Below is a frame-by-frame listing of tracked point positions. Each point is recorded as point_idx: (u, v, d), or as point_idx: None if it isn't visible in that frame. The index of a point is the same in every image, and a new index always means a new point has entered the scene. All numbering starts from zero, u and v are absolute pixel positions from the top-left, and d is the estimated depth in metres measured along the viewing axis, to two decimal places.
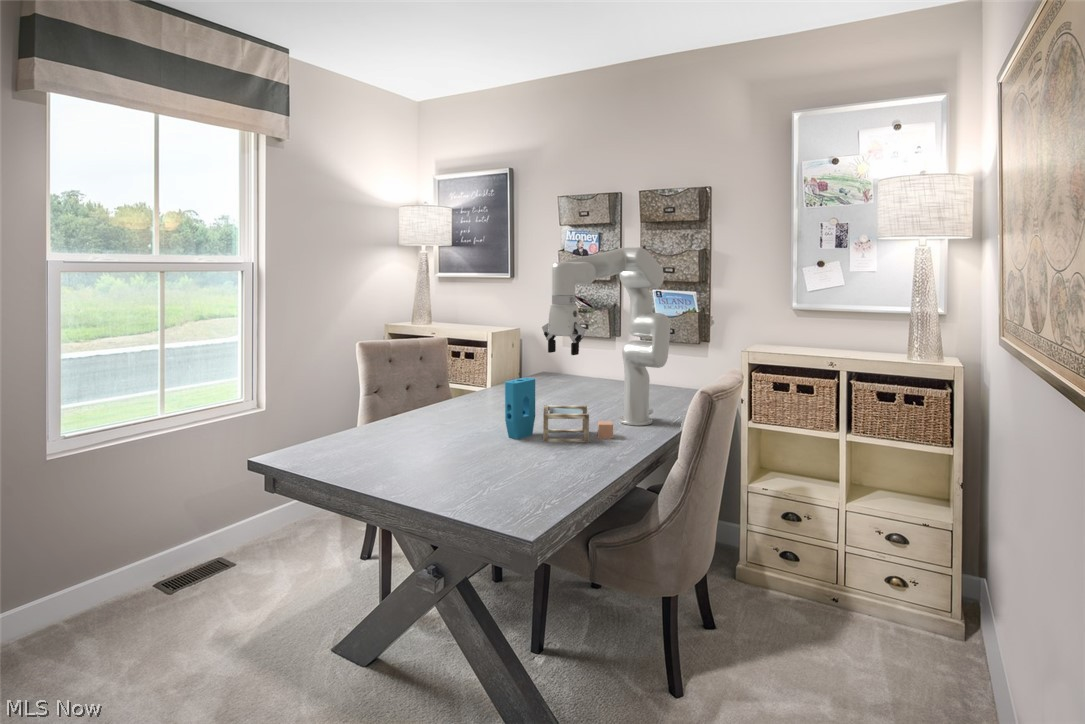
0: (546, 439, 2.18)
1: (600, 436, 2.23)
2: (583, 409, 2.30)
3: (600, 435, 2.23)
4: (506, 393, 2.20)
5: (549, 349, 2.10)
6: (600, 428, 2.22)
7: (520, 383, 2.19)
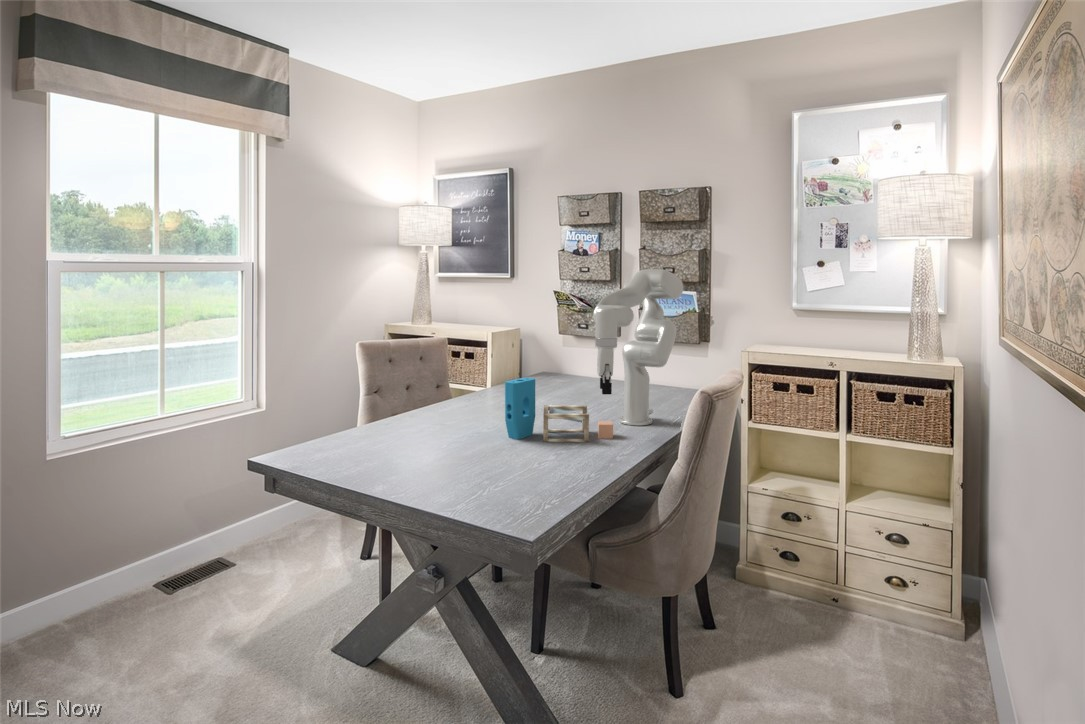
0: (546, 439, 2.18)
1: (600, 436, 2.23)
2: (583, 409, 2.30)
3: (600, 435, 2.23)
4: (506, 393, 2.20)
5: None
6: (600, 428, 2.22)
7: (520, 383, 2.19)
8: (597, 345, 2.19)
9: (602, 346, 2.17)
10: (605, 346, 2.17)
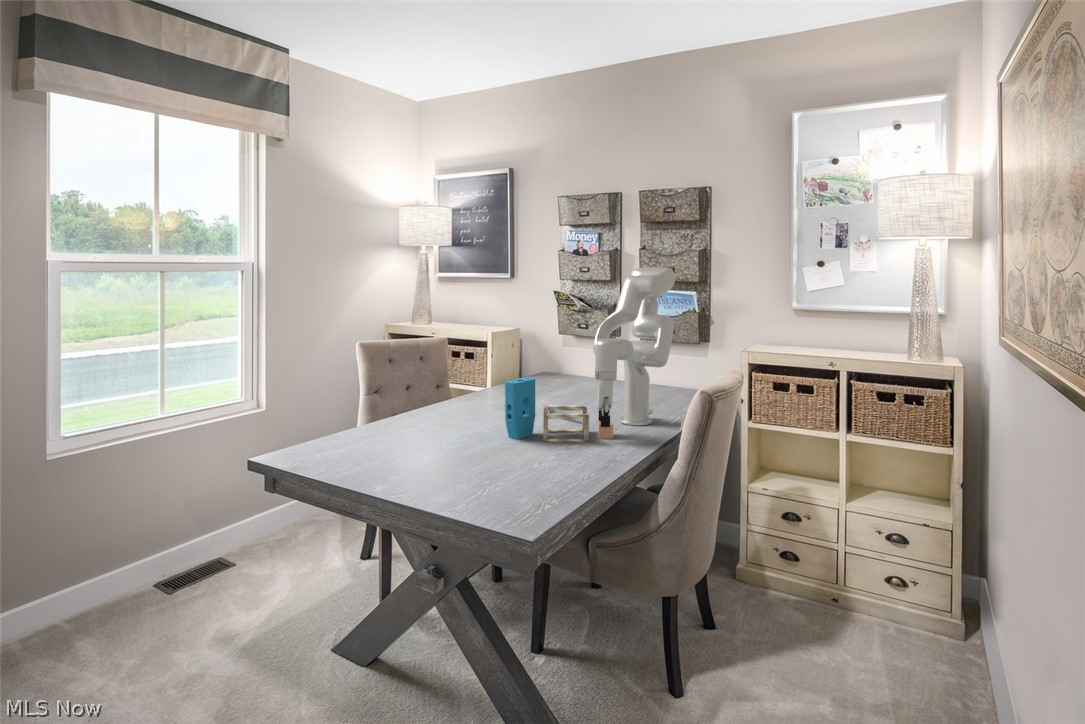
0: (546, 439, 2.18)
1: (600, 436, 2.23)
2: (583, 409, 2.30)
3: (600, 435, 2.23)
4: (506, 393, 2.20)
5: None
6: (600, 428, 2.22)
7: (520, 383, 2.19)
8: (597, 378, 2.20)
9: (602, 379, 2.19)
10: (605, 379, 2.18)
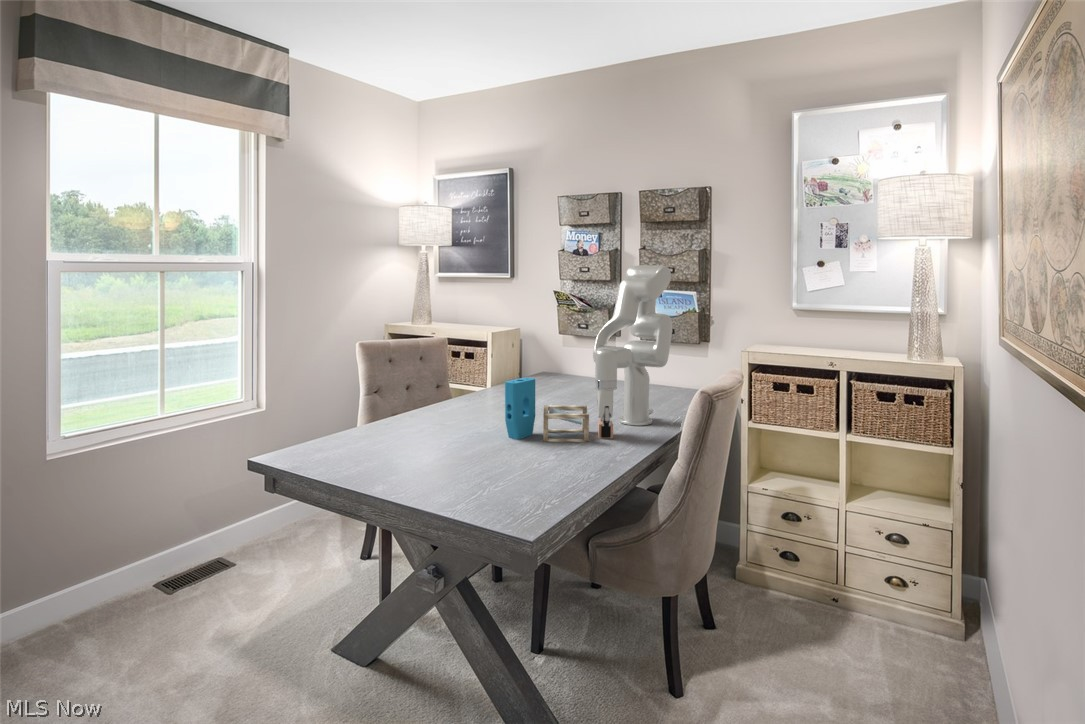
0: (546, 439, 2.18)
1: (600, 436, 2.23)
2: (583, 409, 2.30)
3: (600, 435, 2.23)
4: (506, 393, 2.20)
5: None
6: (600, 428, 2.22)
7: (520, 383, 2.19)
8: (597, 387, 2.21)
9: (602, 388, 2.19)
10: (605, 388, 2.19)
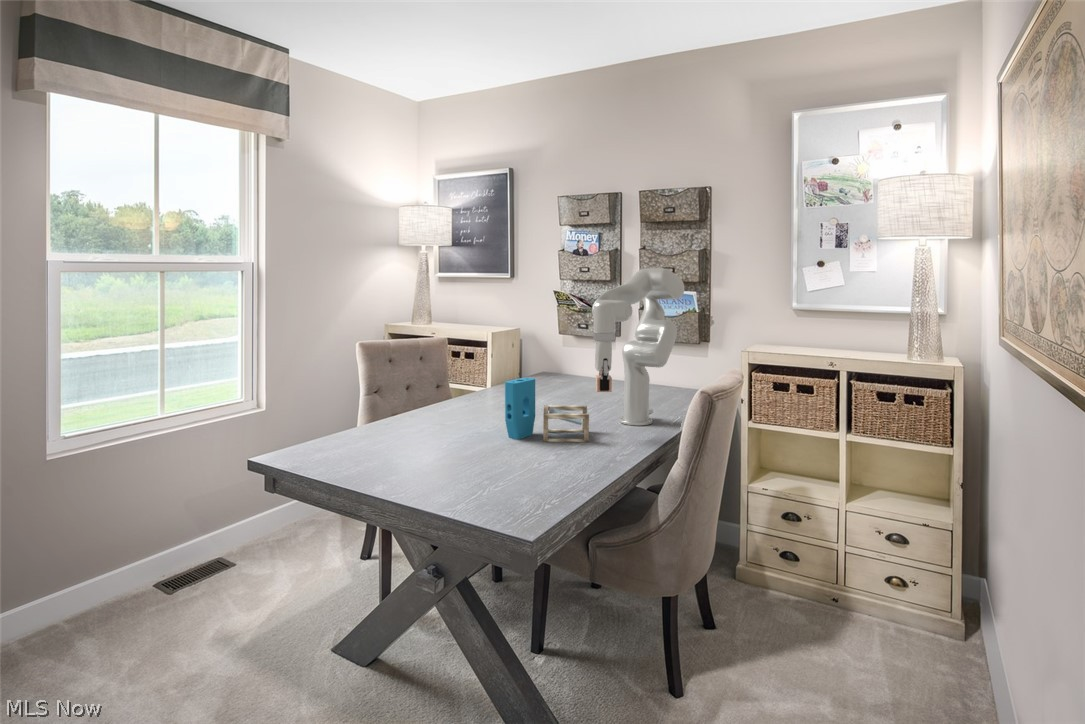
0: (546, 439, 2.18)
1: (598, 389, 2.20)
2: (583, 409, 2.30)
3: (598, 388, 2.20)
4: (506, 393, 2.20)
5: None
6: (598, 381, 2.20)
7: (520, 383, 2.19)
8: (595, 339, 2.18)
9: (600, 340, 2.17)
10: (603, 340, 2.17)
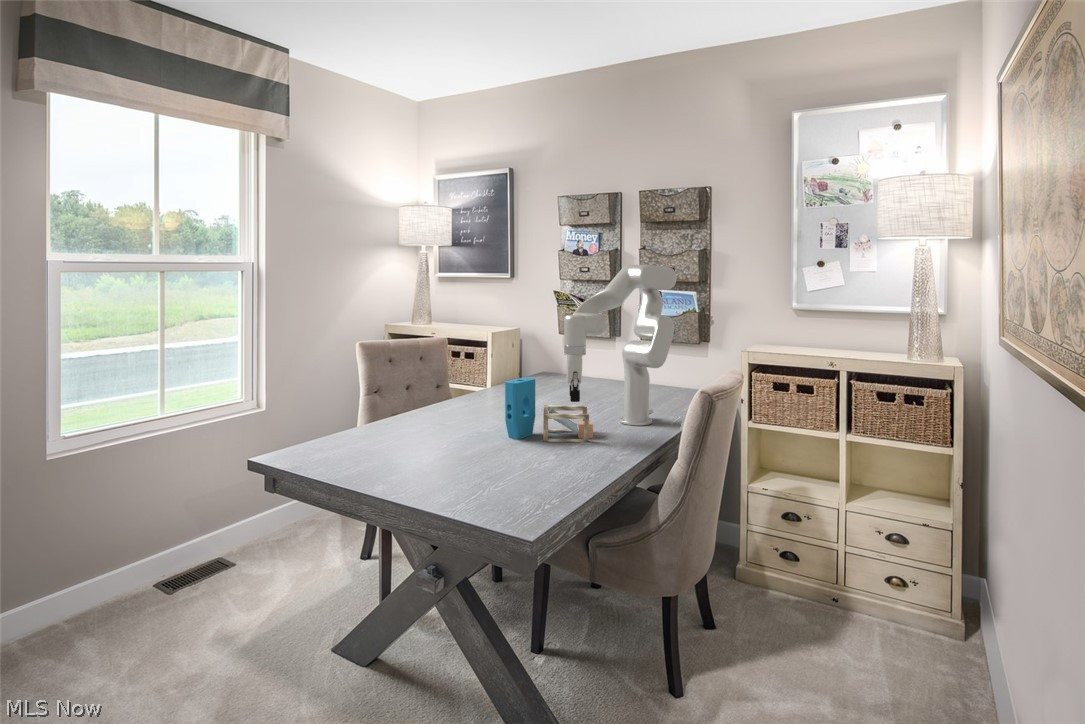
0: (546, 439, 2.18)
1: (580, 426, 2.23)
2: (583, 409, 2.30)
3: (581, 426, 2.23)
4: (506, 393, 2.20)
5: None
6: (589, 426, 2.23)
7: (520, 383, 2.19)
8: (566, 353, 2.19)
9: (570, 354, 2.18)
10: (573, 354, 2.18)
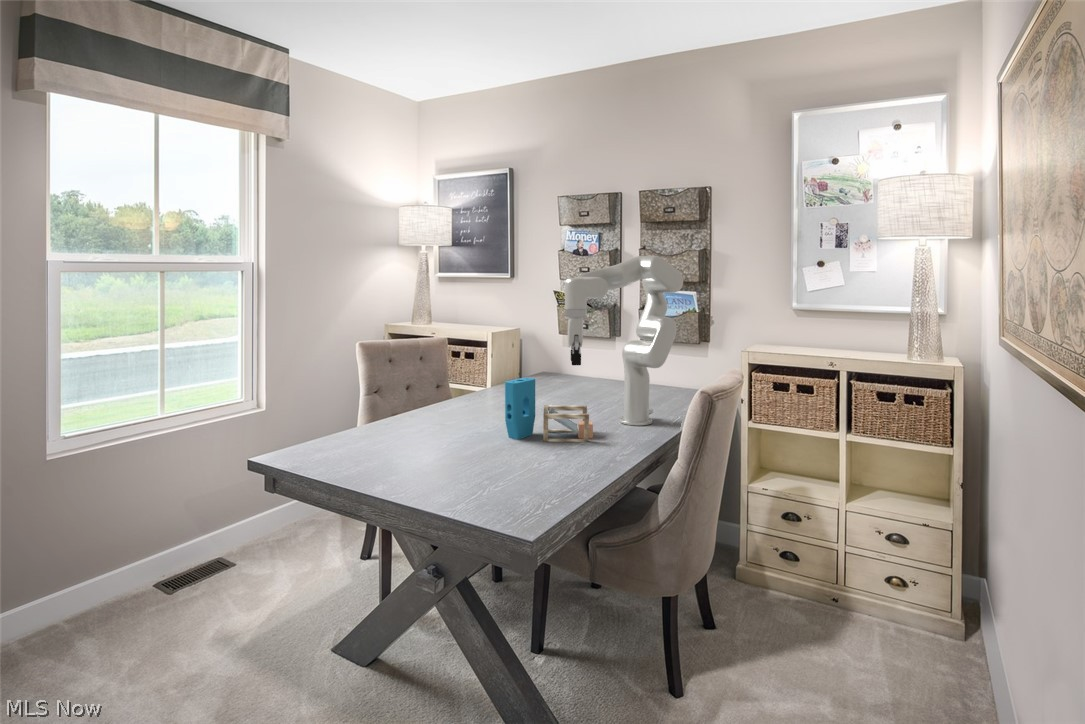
0: (546, 439, 2.18)
1: (580, 426, 2.23)
2: (583, 409, 2.30)
3: (581, 426, 2.23)
4: (506, 393, 2.20)
5: None
6: (589, 426, 2.22)
7: (520, 383, 2.19)
8: (566, 316, 2.18)
9: (571, 317, 2.16)
10: (574, 317, 2.16)
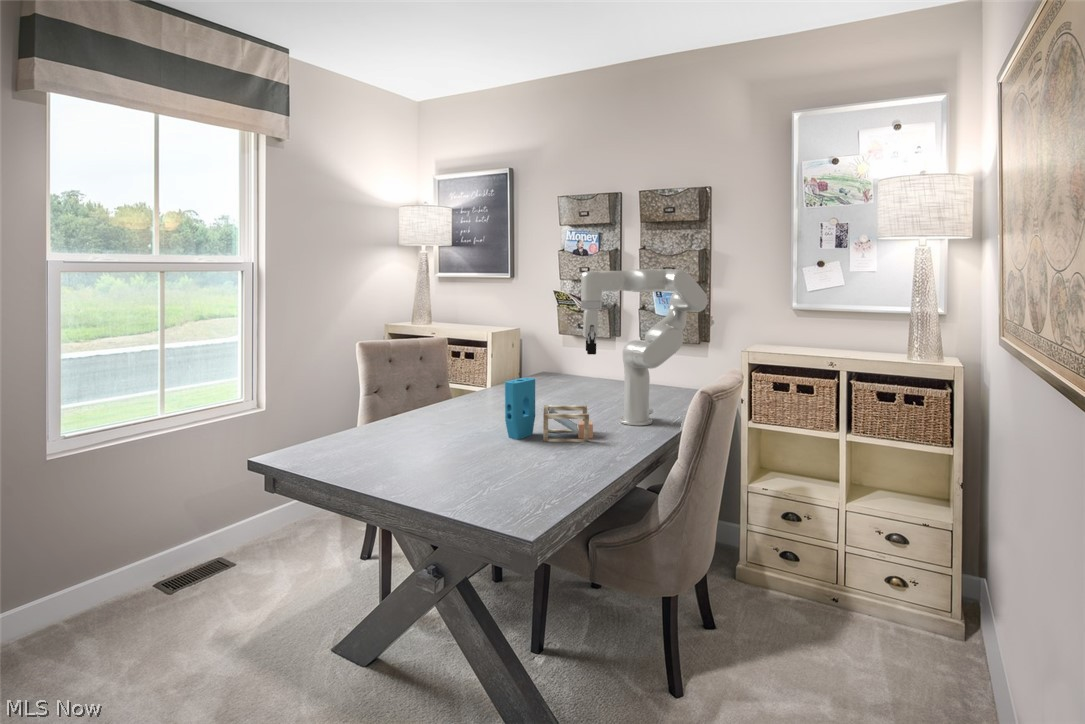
0: (546, 439, 2.18)
1: (580, 426, 2.23)
2: (583, 409, 2.30)
3: (581, 426, 2.23)
4: (506, 393, 2.20)
5: None
6: None
7: (520, 383, 2.19)
8: (583, 307, 2.29)
9: (587, 308, 2.28)
10: (590, 308, 2.27)
